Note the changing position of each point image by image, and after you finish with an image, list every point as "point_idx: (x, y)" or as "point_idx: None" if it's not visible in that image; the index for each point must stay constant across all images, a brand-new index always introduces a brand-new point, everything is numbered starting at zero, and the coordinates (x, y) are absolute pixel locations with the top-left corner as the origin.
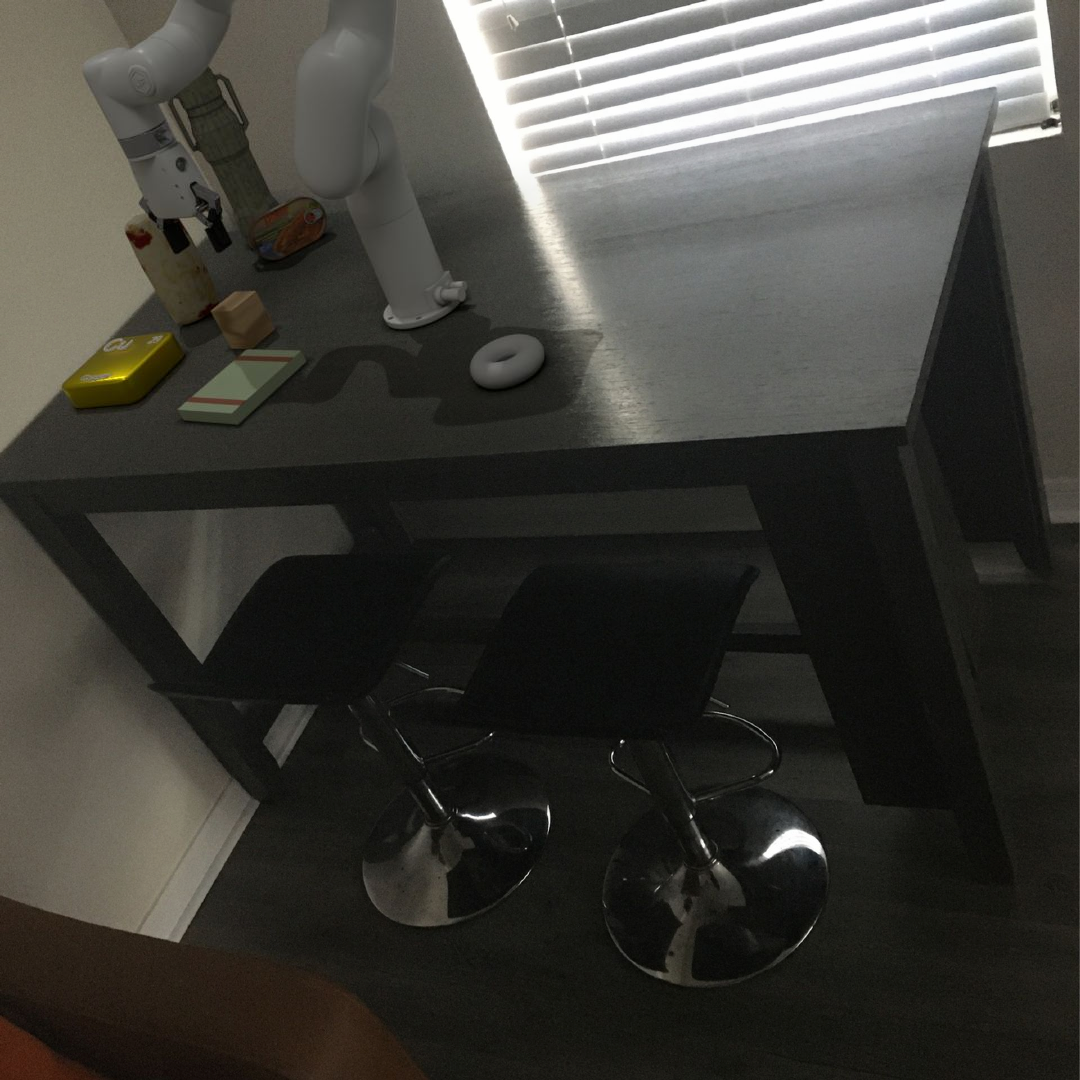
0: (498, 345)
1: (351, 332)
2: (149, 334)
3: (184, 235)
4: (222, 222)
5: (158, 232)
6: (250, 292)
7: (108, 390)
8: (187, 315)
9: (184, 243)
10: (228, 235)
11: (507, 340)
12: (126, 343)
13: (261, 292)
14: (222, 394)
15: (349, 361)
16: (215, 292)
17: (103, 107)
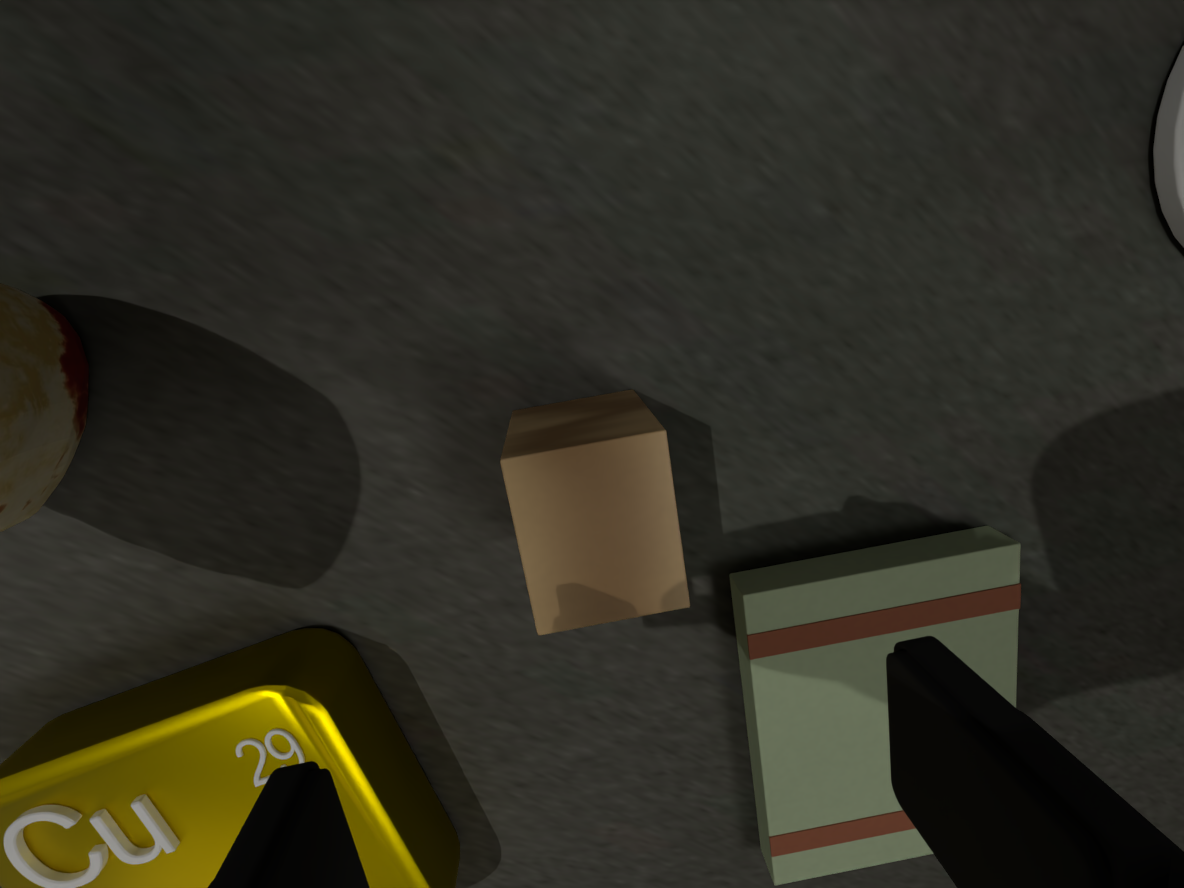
0: None
1: (1050, 334)
2: (164, 736)
3: (290, 876)
4: (1115, 797)
5: None
6: (640, 449)
7: None
8: (51, 481)
9: (329, 848)
10: (979, 681)
11: None
12: (111, 812)
13: (177, 128)
14: (889, 793)
15: (1166, 482)
16: (5, 296)
17: None
